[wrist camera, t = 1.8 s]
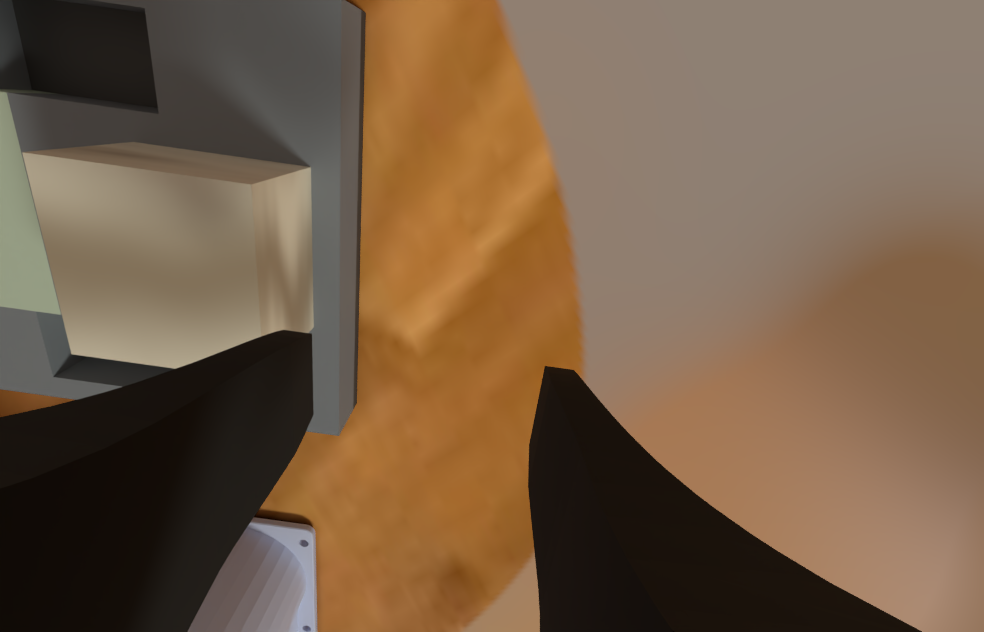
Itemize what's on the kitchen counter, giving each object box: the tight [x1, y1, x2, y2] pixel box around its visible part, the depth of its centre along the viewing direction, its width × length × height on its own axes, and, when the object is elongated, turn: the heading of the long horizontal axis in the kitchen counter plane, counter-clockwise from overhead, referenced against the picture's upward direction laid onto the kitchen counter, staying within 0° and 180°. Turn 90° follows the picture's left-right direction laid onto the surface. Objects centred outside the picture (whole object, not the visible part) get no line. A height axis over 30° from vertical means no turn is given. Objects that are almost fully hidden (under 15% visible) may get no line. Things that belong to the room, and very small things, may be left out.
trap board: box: [0, 0, 366, 436], centre depth 18 cm, size 16×18×4 cm
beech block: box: [22, 142, 314, 369], centre depth 16 cm, size 6×6×4 cm
